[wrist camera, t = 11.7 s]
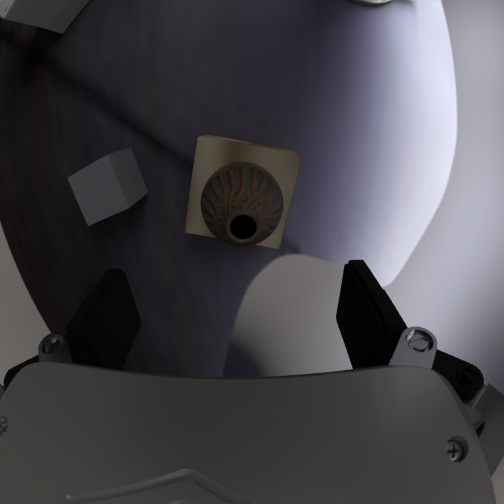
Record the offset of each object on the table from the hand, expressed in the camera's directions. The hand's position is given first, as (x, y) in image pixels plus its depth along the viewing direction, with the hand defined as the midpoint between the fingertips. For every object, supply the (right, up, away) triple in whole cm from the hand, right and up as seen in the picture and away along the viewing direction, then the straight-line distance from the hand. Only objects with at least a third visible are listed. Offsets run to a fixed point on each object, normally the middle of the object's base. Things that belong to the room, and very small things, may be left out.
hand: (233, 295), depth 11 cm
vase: (0, +8, +15) cm, 17 cm away
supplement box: (-25, +35, +6) cm, 44 cm away
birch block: (0, +10, +20) cm, 22 cm away
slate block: (-15, +11, +19) cm, 27 cm away
